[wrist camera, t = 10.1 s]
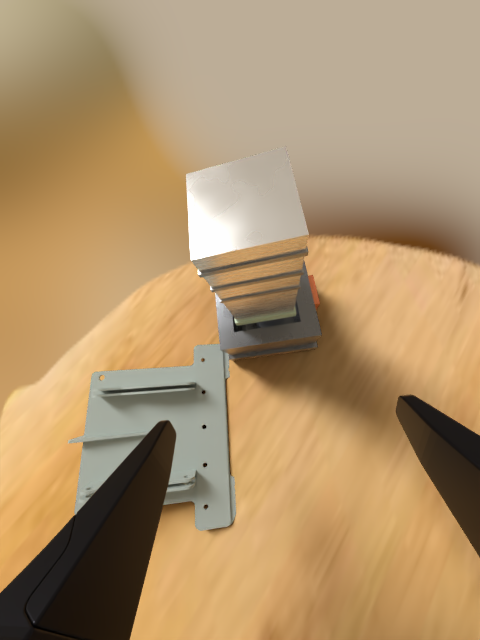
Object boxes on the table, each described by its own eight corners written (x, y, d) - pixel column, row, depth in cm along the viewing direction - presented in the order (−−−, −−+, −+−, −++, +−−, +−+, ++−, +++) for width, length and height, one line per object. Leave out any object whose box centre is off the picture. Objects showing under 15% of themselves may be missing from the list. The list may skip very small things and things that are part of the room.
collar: (317, 348, 20) (330, 338, 14) (232, 360, 21) (216, 354, 16) (300, 273, 22) (306, 241, 17) (225, 288, 23) (209, 262, 18)
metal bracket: (38, 571, 14) (72, 348, 18) (89, 518, 19) (106, 356, 24) (249, 537, 16) (236, 340, 20) (241, 496, 21) (232, 349, 25)
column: (295, 317, 15) (314, 237, 7) (237, 326, 16) (186, 264, 7) (284, 265, 16) (289, 142, 8) (231, 276, 17) (182, 172, 8)
